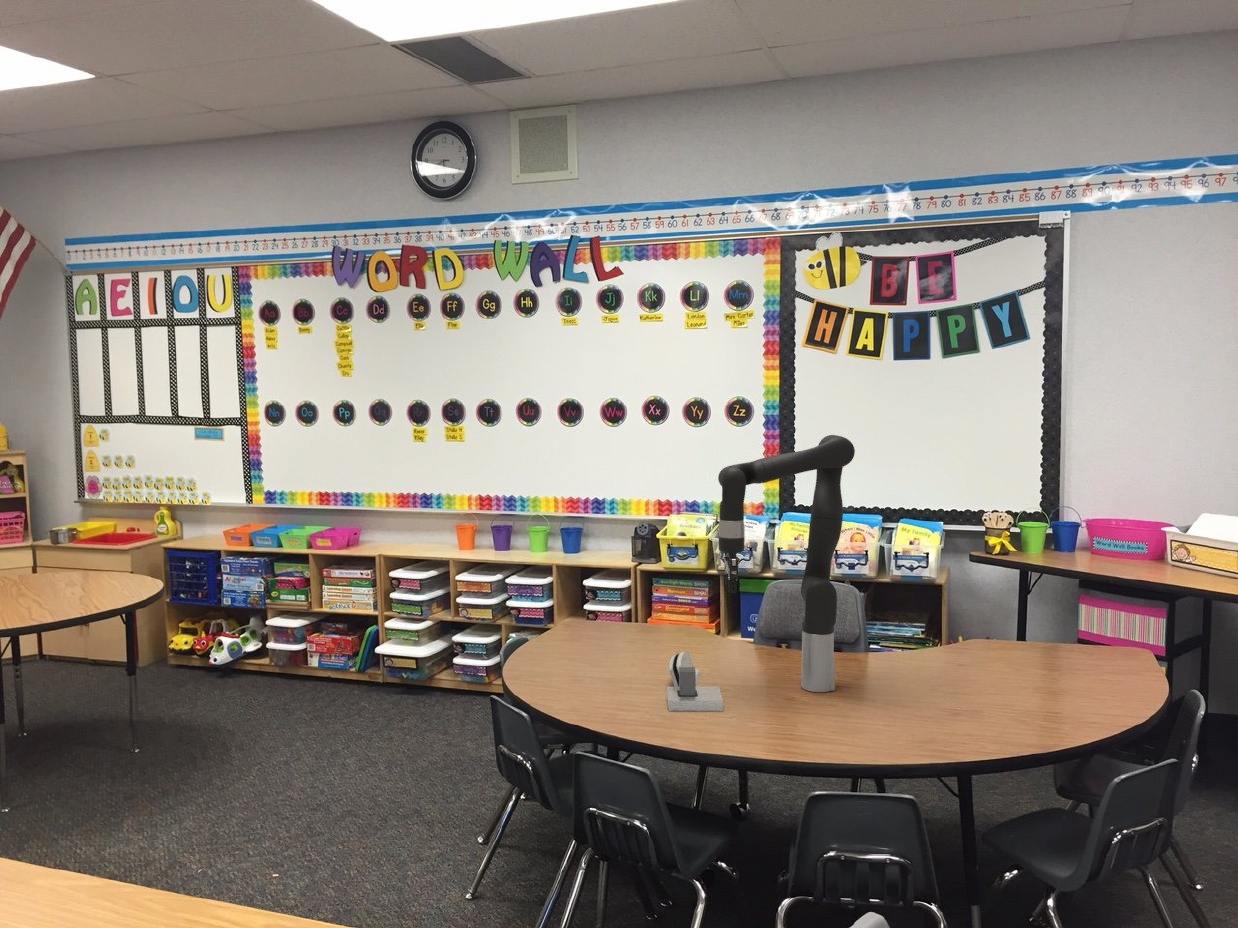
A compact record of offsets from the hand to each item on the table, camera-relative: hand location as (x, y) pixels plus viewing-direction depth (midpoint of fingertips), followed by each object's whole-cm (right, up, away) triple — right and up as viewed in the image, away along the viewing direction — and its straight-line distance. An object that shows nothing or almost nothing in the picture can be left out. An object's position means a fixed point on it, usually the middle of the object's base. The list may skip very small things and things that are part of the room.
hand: (731, 589), depth 276 cm
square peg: (-14, -31, -9) cm, 35 cm away
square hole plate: (-12, -31, -9) cm, 34 cm away
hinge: (-13, -30, +10) cm, 34 cm away
